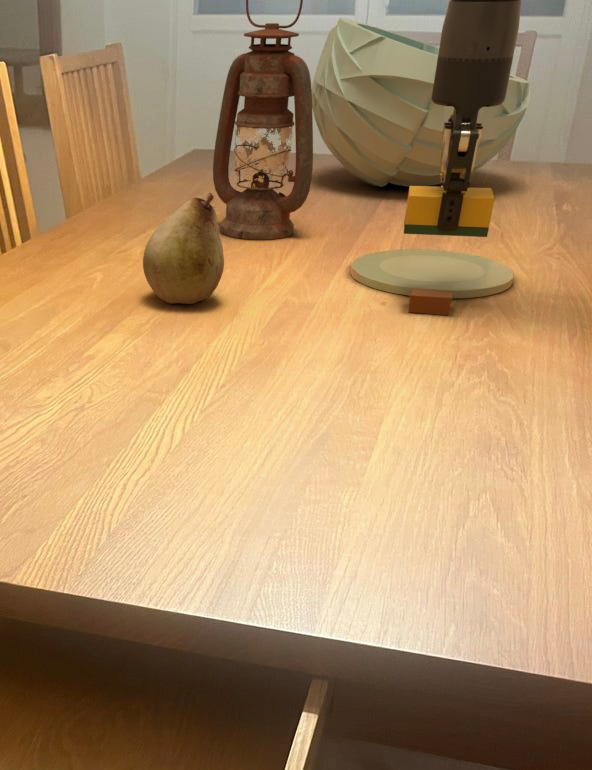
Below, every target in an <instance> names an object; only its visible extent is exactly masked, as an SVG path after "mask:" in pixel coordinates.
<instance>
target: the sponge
mask: <svg viewBox="0 0 592 770" xmlns="http://www.w3.org/2000/svg"><path fill="white" fill-rule="evenodd" d="M408 187H409V188H408V194H407V201H406V207H405V215H404V220H403V221H404V222H403V234H404V235H421V236H422V235H427V236H450V237H452V236H453V237H475V238H487V237H488V236H489V235H488V234H489V230H490V224H491V219H492V215H493V209H494V204H495V200H496V199H495V195H494V192H493V189H492V188H491V187H469V188H468V189H467V191H466V193H465V195H464V196H463V202H462V207H461V213H460V218H459V224H458V228H457V230H455V231H439V230H438V228H437V223H438V217H439V211H440V205H441V199H442V190H441V186H434V185H429V186H408Z"/></svg>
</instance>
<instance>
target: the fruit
mask: <svg viewBox="0 0 592 770" xmlns="http://www.w3.org/2000/svg"><path fill="white" fill-rule="evenodd" d="M213 200H214V195H213V194H212V193H211V192H208V193H207V196H206V199H204V198H200V197H192V198H190V199H188V200H187V201H185V202H184V203H183V204H182V205H181V206H180V207H179V208H177V210H176V211H175V212H173V214H171V215H169V217H168V218H167V219H166V220H164V221H163V222H162V223H161V224H160V225H159V226H158V227H157V228H156V229H155V230H154V231H153V233H152V234H151V236H150V238H149V239H148V240H147V243H146V245H145V248H144V251H143V255H142V270H143V274H144V277H145V279H146V281H147V282H146V283H147V284H148V285H149V287H150V288H151V290H152V291H153V293H154V294H155V295H156V296H157V297H158V298H159V299H161V300H162V301H164V303H167V304H171V305H172V304H183V305H194V304H196V303H199V302H202V301H204V300H206V299H208V298H210V296H212V295H213V293H214V292H215V290H217V288H218V285H219V284H220V282H221V280H222V277H223V274H224V270H225V257H224V256H225V255H224V247H223V243H222V239H221V237H220V234H219V231H218V229H219V227H218V215H217V213H216V210H215V208H214V206H213V205H211V202H212V201H213Z"/></svg>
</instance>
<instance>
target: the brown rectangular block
mask: <svg viewBox="0 0 592 770" xmlns="http://www.w3.org/2000/svg"><path fill="white" fill-rule="evenodd" d="M452 300H453V299H452V291H450V290H434V289H419V288H412V289H411V295H410V296H409V301H408V310H407V312H408V313H412V314H425V315H440V316H449V315H450V312H451V311H450V310H451V305H452Z"/></svg>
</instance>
